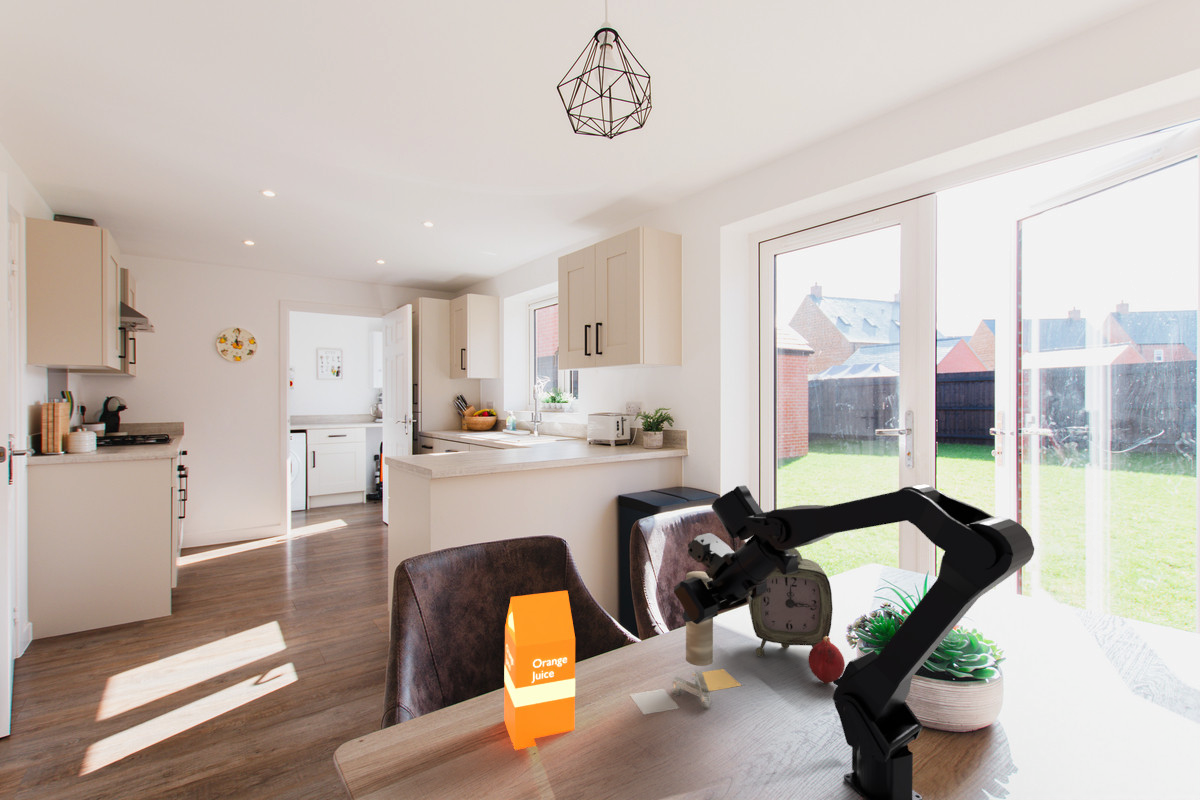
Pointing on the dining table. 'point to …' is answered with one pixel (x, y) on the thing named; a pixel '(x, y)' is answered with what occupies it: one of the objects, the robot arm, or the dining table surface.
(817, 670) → the onion
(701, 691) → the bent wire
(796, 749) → the dining table surface
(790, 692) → the dining table surface
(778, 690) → the dining table surface
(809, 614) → the tabletop clock
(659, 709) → the board
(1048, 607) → the dining table surface
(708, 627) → the peg
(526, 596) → the orange juice
